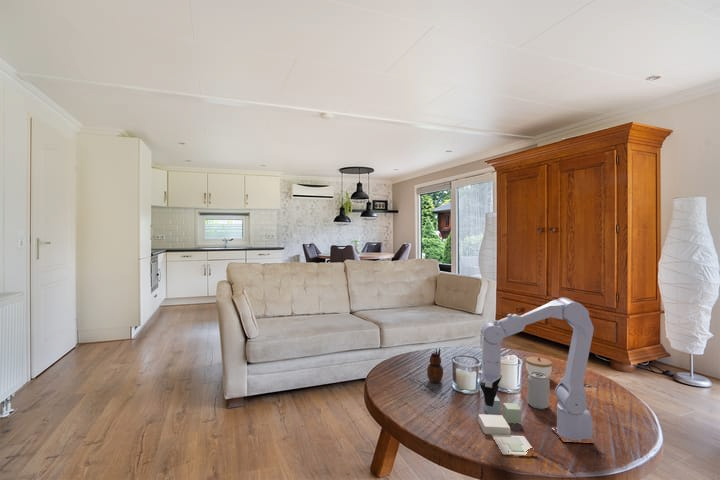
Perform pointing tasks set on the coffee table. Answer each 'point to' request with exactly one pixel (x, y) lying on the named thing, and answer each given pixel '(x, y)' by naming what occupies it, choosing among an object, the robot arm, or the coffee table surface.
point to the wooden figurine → (435, 368)
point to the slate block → (495, 408)
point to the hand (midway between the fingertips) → (491, 400)
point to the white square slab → (493, 424)
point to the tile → (512, 444)
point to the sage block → (512, 413)
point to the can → (538, 390)
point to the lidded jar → (538, 365)
